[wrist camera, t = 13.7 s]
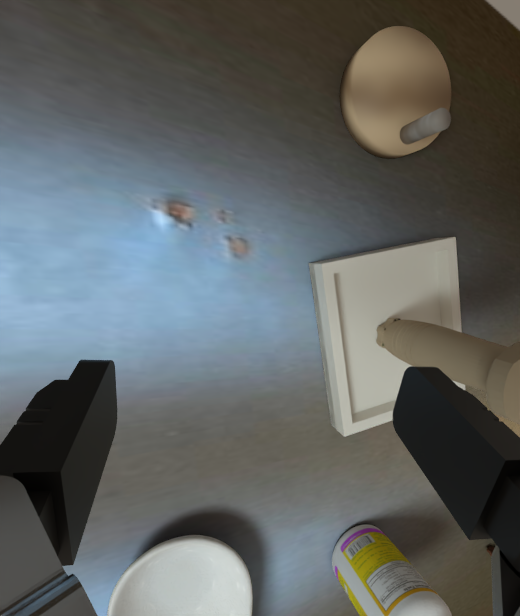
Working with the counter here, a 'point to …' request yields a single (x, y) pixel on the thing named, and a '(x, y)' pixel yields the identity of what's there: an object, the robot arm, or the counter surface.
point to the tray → (378, 321)
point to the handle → (459, 360)
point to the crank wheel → (396, 93)
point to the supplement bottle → (382, 577)
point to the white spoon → (185, 581)
